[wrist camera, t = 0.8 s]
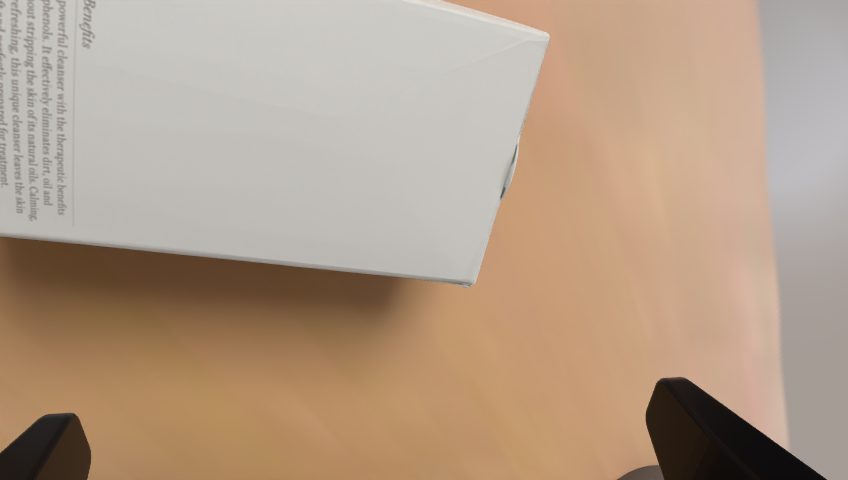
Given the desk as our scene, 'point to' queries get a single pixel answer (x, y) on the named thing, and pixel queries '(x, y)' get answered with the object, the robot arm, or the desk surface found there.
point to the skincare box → (265, 129)
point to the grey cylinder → (644, 474)
